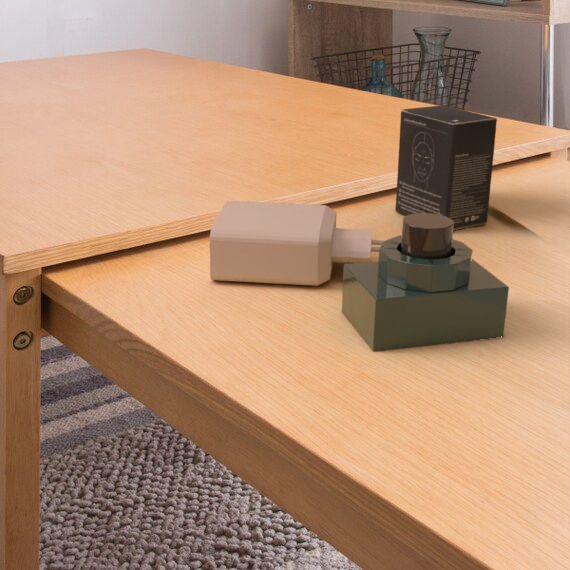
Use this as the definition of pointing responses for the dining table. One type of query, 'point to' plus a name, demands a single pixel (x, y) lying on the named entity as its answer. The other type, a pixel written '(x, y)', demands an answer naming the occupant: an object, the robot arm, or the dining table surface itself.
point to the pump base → (422, 299)
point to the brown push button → (427, 236)
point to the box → (445, 164)
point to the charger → (283, 243)
